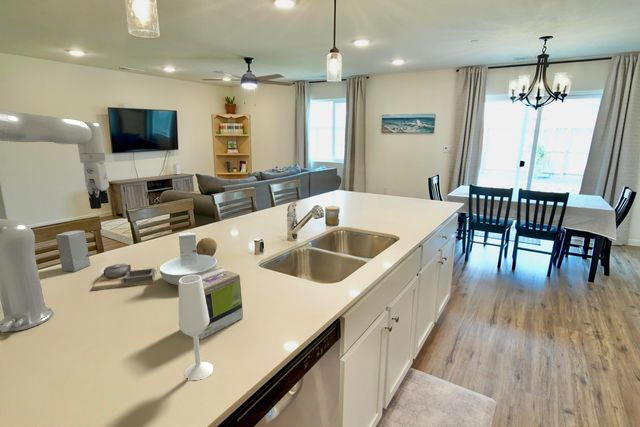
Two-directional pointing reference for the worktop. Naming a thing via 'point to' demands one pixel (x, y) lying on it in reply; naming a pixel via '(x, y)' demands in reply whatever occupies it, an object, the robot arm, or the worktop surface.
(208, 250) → the natural sponge
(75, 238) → the skincare box
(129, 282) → the board
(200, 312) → the champagne flute
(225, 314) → the tea box
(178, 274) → the serving bowl
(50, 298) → the worktop surface
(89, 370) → the worktop surface
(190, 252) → the skincare box
